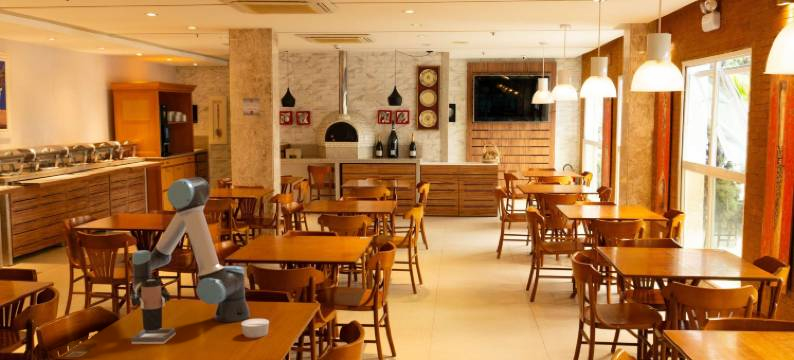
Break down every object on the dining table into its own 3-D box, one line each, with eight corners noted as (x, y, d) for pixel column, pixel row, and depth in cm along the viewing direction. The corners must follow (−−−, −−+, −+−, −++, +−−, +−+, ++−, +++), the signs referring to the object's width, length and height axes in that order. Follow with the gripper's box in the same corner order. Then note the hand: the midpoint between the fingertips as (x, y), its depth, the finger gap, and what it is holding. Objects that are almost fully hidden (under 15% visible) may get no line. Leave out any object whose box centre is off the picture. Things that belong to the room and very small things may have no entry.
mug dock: (175, 334, 300) (175, 328, 300) (163, 343, 287) (163, 338, 287) (145, 334, 301) (144, 328, 301) (131, 343, 288) (131, 338, 288)
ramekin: (246, 340, 290) (245, 327, 290) (238, 333, 300) (237, 320, 300) (273, 336, 295) (272, 323, 295) (264, 329, 305) (264, 316, 305)
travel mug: (156, 331, 290) (154, 281, 288) (138, 330, 291) (136, 280, 289) (166, 325, 297) (164, 277, 295) (149, 324, 299) (147, 276, 297)
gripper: (170, 297, 314) (180, 310, 293) (120, 303, 305) (126, 316, 285) (170, 280, 313) (179, 291, 293) (119, 285, 304) (125, 297, 284)
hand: (153, 303), depth 289 cm, fingers closed on travel mug, 7 cm apart
